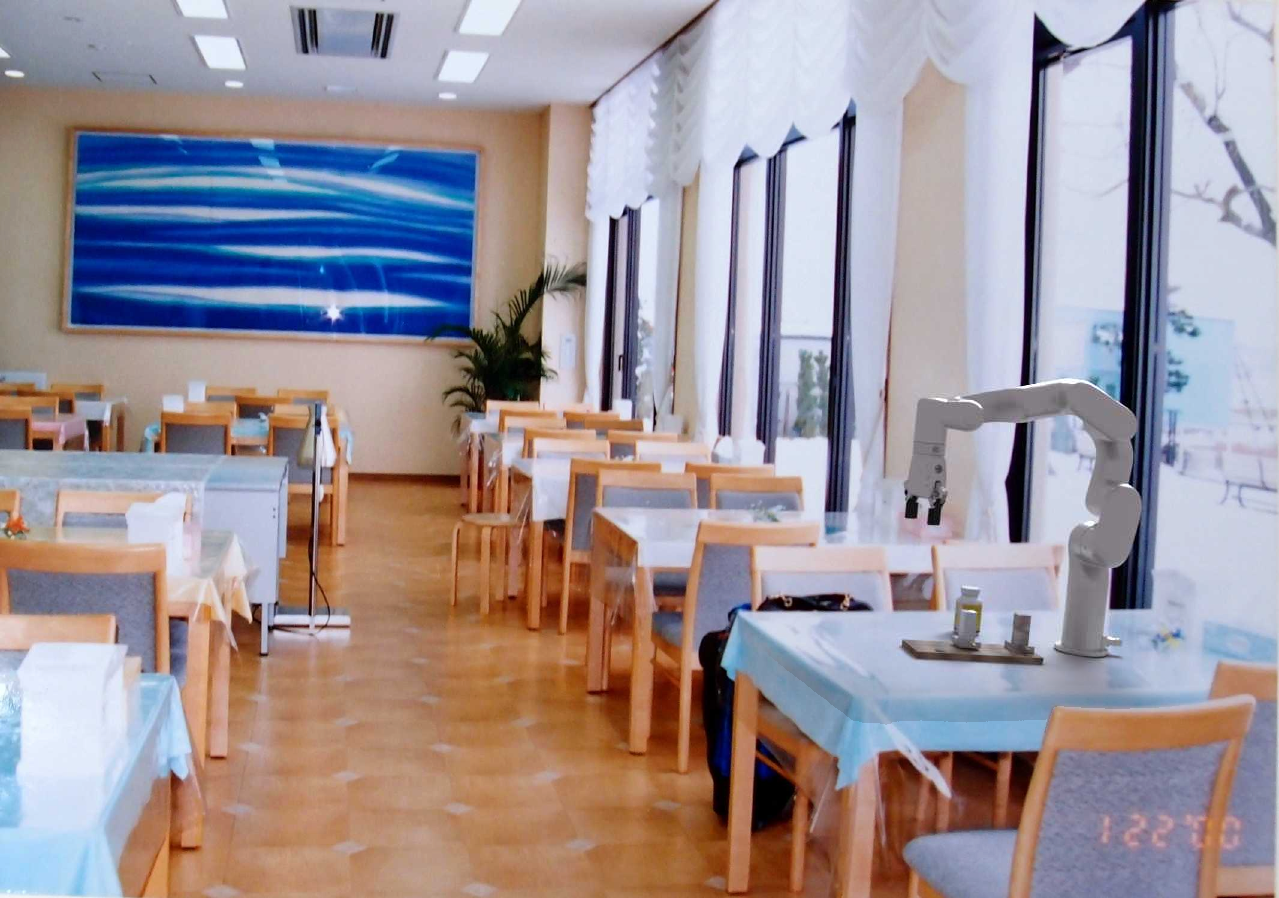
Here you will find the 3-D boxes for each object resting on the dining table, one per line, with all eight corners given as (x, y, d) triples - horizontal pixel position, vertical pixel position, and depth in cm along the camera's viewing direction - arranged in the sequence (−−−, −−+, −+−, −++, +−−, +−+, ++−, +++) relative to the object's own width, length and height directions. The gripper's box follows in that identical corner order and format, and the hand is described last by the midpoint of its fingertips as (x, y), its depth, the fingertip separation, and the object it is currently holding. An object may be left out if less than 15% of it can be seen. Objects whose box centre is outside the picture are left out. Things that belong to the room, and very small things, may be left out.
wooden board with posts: (1023, 651, 339) (1027, 610, 338) (1042, 664, 327) (1047, 621, 326) (901, 645, 335) (905, 603, 334) (916, 657, 323) (920, 614, 323)
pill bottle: (984, 636, 353) (988, 590, 352) (960, 635, 352) (965, 589, 351) (971, 630, 360) (976, 585, 358) (948, 629, 358) (953, 584, 357)
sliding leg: (971, 642, 335) (975, 609, 335) (985, 651, 327) (988, 617, 326) (951, 641, 335) (954, 607, 334) (964, 650, 326) (967, 616, 325)
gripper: (963, 455, 327) (956, 528, 329) (922, 446, 343) (915, 516, 345) (935, 453, 325) (928, 527, 326) (895, 445, 341) (889, 515, 342)
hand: (921, 521), depth 336 cm, fingers open, 9 cm apart
